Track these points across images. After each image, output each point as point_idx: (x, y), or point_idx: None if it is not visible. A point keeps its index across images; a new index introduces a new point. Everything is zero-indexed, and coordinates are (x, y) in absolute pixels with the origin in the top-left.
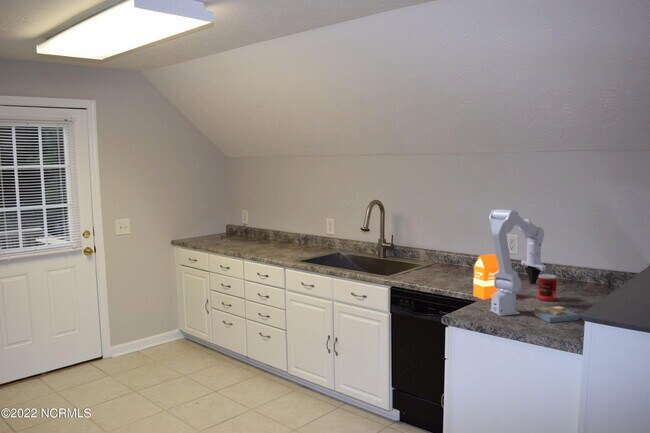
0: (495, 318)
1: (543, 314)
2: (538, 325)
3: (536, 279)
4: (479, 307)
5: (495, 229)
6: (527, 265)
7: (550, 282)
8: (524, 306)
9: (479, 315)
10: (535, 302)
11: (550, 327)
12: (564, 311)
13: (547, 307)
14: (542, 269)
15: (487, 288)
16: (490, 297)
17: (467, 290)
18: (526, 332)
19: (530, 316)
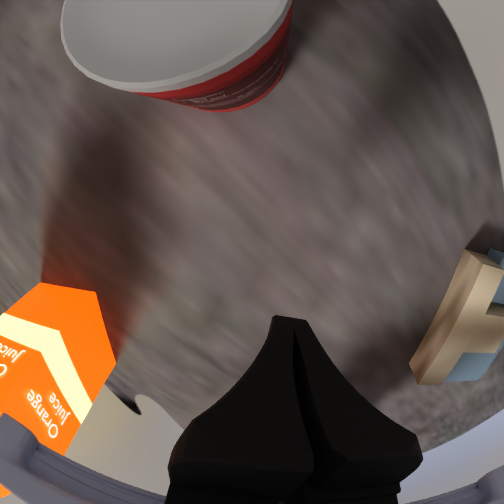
0: None
1: (456, 379)
2: (455, 403)
3: (321, 354)
4: None
5: None
6: (123, 493)
7: (280, 38)
8: (290, 312)
9: None
10: (252, 187)
11: (482, 387)
12: (502, 282)
13: (451, 334)
14: (478, 499)
15: (89, 381)
16: (104, 337)
17: (6, 308)
18: (446, 439)
19: (403, 382)
